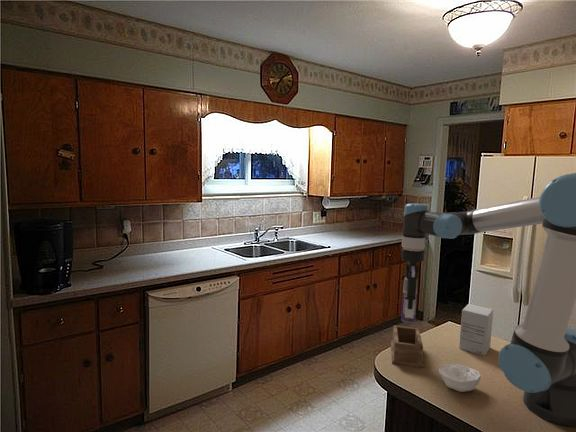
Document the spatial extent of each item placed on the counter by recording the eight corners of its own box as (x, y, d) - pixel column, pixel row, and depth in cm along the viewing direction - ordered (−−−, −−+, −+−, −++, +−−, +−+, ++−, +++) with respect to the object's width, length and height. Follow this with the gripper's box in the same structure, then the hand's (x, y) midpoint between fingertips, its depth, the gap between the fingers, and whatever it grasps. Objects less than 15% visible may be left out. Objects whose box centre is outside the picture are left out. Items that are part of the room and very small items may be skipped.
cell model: (487, 396, 109) (490, 374, 108) (448, 398, 108) (450, 376, 107) (467, 377, 119) (469, 357, 118) (431, 379, 118) (432, 358, 117)
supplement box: (464, 340, 146) (468, 303, 144) (490, 347, 141) (494, 308, 139) (458, 348, 139) (461, 309, 137) (484, 356, 134) (488, 315, 132)
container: (403, 316, 135) (406, 276, 134) (416, 320, 133) (419, 278, 131) (399, 320, 132) (401, 278, 130) (412, 324, 129) (415, 281, 127)
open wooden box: (423, 367, 124) (425, 347, 124) (392, 363, 127) (393, 343, 126) (418, 345, 140) (419, 327, 140) (390, 342, 143) (391, 324, 142)
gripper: (427, 255, 120) (422, 325, 123) (421, 244, 137) (417, 306, 140) (403, 253, 121) (398, 322, 124) (400, 243, 139) (396, 304, 141)
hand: (408, 314), depth 132 cm, fingers closed on container, 5 cm apart
